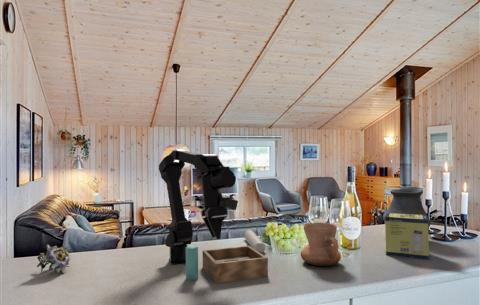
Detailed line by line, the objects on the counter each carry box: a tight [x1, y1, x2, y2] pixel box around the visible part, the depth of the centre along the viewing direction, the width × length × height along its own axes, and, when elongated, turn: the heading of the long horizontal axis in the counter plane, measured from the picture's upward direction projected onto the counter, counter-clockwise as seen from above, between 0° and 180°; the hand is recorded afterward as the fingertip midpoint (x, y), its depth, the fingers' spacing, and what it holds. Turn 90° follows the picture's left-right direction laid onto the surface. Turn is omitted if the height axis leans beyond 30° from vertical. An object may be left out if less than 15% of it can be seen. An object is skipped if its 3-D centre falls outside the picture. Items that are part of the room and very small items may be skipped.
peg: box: [185, 245, 199, 282], centre depth 110 cm, size 4×4×10 cm
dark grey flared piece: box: [382, 185, 432, 230], centre depth 160 cm, size 21×22×25 cm
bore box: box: [202, 245, 269, 284], centre depth 117 cm, size 18×17×6 cm
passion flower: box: [36, 244, 71, 275], centre depth 117 cm, size 11×11×12 cm
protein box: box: [384, 213, 430, 261], centre depth 137 cm, size 10×16×16 cm
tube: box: [243, 229, 266, 254], centre depth 151 cm, size 5×5×25 cm
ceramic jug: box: [300, 221, 342, 267], centre depth 125 cm, size 18×14×14 cm
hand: (216, 238), depth 111 cm, fingers open, 9 cm apart
